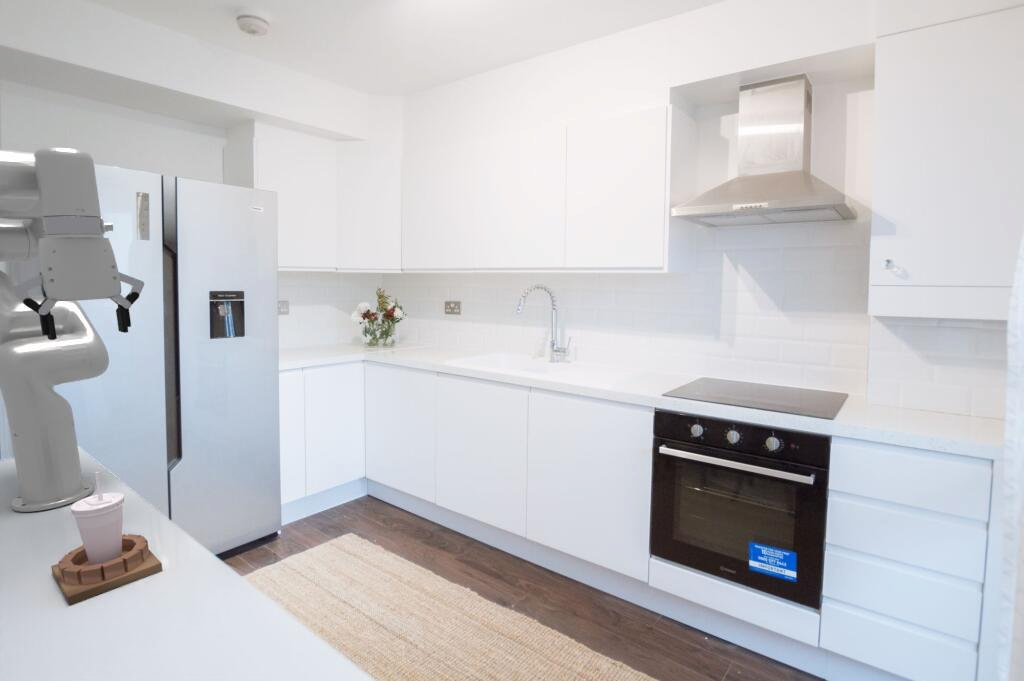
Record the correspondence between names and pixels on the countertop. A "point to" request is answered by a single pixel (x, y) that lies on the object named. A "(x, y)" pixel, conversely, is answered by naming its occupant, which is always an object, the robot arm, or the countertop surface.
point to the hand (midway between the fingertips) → (89, 335)
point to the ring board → (104, 570)
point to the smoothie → (100, 524)
